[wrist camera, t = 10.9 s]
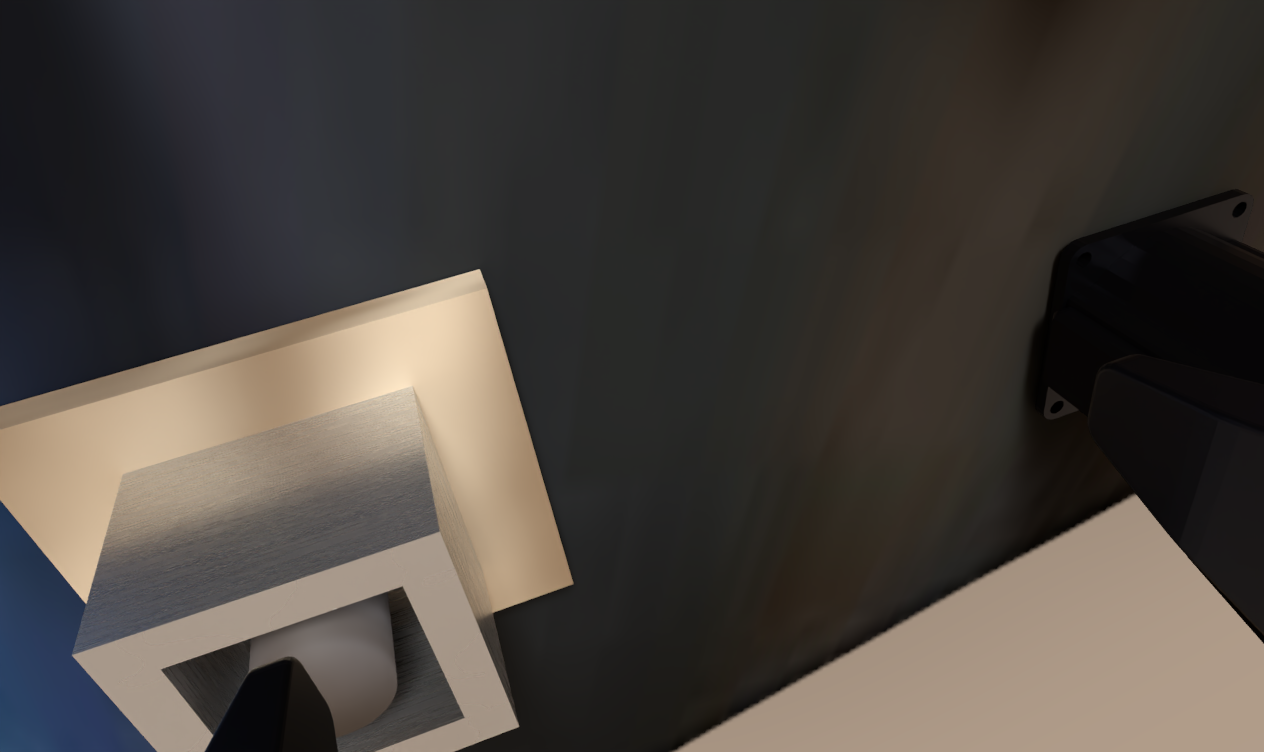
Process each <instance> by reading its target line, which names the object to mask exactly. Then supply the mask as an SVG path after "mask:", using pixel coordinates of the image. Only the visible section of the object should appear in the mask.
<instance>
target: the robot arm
mask: <svg viewBox="0 0 1264 752" xmlns="http://www.w3.org/2000/svg"><path fill="white" fill-rule="evenodd" d="M1253 202H1254V199H1253V196H1252V195H1250V194H1248V193H1245V192H1243V191H1240V190H1238V189H1235V190H1230V191H1227V192H1224V193H1221V194H1217V195H1214V196H1211V197H1208V198H1205V199H1202V200H1199V201H1196V202H1192V203H1189V204H1186V205H1183V206H1180V207H1177V208H1174V209H1170V210H1167V211H1164V212H1161V213H1158V214H1155V215H1152V216H1148V217H1145V218H1142V219H1139V220H1136V221H1133V222H1130V223H1127V224H1123V225H1120V226H1117V227H1114V228H1111V229H1108V230H1105V231H1101V232H1098V233H1095V234H1092V235H1089V236H1086V237H1083V238H1079V239H1076V240H1075V241H1073V242H1071V243H1070V244H1069V245H1067V246H1066V247H1065V249H1064V250H1063V252H1062V253H1061V256H1060V259H1059V265H1058V272H1057V278H1056V284H1055V290H1054V296H1053V302H1052V308H1051V314H1050V320H1049V326H1048V332H1047V338H1046V345H1045V351H1044V357H1043V363H1042V369H1041V375H1040V381H1039V387H1038V393H1037V399H1036V410H1037V411H1038V412H1039V413H1040V414H1041V415H1042V416H1044V417H1045V418H1046V419H1049V420H1051V419H1056V418H1059V417H1061V416H1064V415H1067V414H1070V413H1073V412H1075V411H1078V410H1080V411H1081V412H1082V413H1083V414H1085V415H1086V416H1087V417H1088V421H1087V422H1088V428H1089V432H1090V434H1091V436H1092V438H1093V440H1094V441H1095V443H1096V444H1097V446H1098V447H1099V448H1100V449H1101V451H1102V452H1103V453H1104V454H1105V456H1106V457H1107V458H1108V459H1109V461H1110V462H1111V463H1112V464H1113V466H1114V467H1115V468H1116V469H1117V471H1118V472H1119V473H1120V474H1121V476H1122V477H1123V478H1124V479H1125V481H1126V482H1127V483H1128V484H1129V486H1130V487H1131V488H1132V490H1133V491H1134V492H1135V493H1136V495H1137V496H1138V497H1139V498H1140V500H1141V501H1142V502H1143V503H1144V505H1145V506H1146V507H1147V508H1148V510H1149V511H1150V512H1151V513H1152V515H1153V516H1154V517H1155V518H1156V520H1157V521H1158V522H1159V523H1160V524H1161V526H1162V527H1163V528H1164V529H1165V531H1166V532H1167V533H1168V534H1169V535H1170V537H1171V538H1172V539H1173V540H1174V542H1175V543H1176V544H1177V545H1178V546H1179V547H1180V548H1181V550H1182V551H1183V552H1184V553H1185V554H1186V555H1187V556H1188V558H1189V559H1190V560H1191V561H1192V563H1193V564H1194V565H1195V566H1196V567H1197V568H1198V569H1199V571H1200V572H1201V573H1202V574H1203V575H1204V576H1205V577H1206V578H1207V580H1208V581H1209V582H1210V583H1211V584H1212V585H1213V586H1214V587H1215V589H1216V590H1217V591H1218V592H1219V593H1220V594H1221V595H1222V597H1223V598H1224V599H1225V600H1226V601H1227V602H1228V603H1229V604H1230V606H1231V607H1232V608H1233V609H1234V610H1235V611H1236V612H1237V614H1238V615H1239V616H1240V617H1241V618H1242V619H1243V620H1244V622H1245V623H1246V624H1247V625H1248V626H1249V627H1250V628H1251V629H1252V631H1253V632H1254V633H1255V634H1256V635H1257V636H1258V637H1259V638H1260V640H1261V641H1262V642H1263V643H1264V253H1263V252H1261V251H1259V250H1257V249H1255V248H1252V247H1250V246H1248V245H1246V244H1244V243H1242V240H1243V237H1244V234H1245V230H1246V227H1247V224H1248V220H1249V217H1250V214H1251V211H1252V207H1253ZM205 752H338V747H337V740H336V733H335V727H334V721H333V717H332V714H331V711H330V708H329V706H328V704H327V702H326V700H325V698H324V697H323V695H322V694H321V692H320V691H319V689H318V688H317V686H316V685H315V683H314V682H313V680H312V679H311V677H310V675H309V674H308V672H307V671H306V669H305V668H304V666H303V665H302V663H301V662H300V661H299V660H298V659H297V658H295V657H293V656H286V657H283V658H281V659H278V660H275V661H272V662H269V663H267V664H264V665H261V666H258V667H256V668H254V669H252V670H251V671H250V672H249V673H248V674H247V675H246V677H245V678H244V680H243V682H242V684H241V685H240V687H239V689H238V691H237V693H236V695H235V696H234V698H233V700H232V702H231V704H230V706H229V708H228V709H227V711H226V713H225V715H224V717H223V719H222V720H221V722H220V724H219V726H218V728H217V730H216V731H215V733H214V735H213V737H212V739H211V741H210V742H209V744H208V746H207V748H206V750H205Z"/></svg>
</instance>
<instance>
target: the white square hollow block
mask: <svg viewBox="0 0 1264 752" xmlns="http://www.w3.org/2000/svg"><path fill="white" fill-rule="evenodd" d="M387 591H388V597H389V607H390V616H391V626H392V635H393V645H394V654H395V664H396V673H397V690H396V694H395V696H394V698H393V700H392V702H391V704H390V705H389V706H388V708H387V709H386V710H385V711H384V712H383V713H382V714H381V715H380V716H379V717H378V718H376V719H375V720H374V721H372V722H371V723H369V724H368V725H366V726H364V727H362V728H360V729H358V730H356V731H354V732H352V733H349V734H346V735H343V736H340V737H336V740H337V747H338V752H454V751H457V750H459V749H462V748H465V747H467V746H470V745H473V744H475V743H478V742H480V741H483V740H486V739H488V738H491V737H494V736H496V735H499V734H501V733H504V732H507V731H509V730H512V729H515V728H517V727H519V723H518V719H517V715H516V710H515V706H514V702H513V698H512V693H511V689H510V685H509V681H508V676H507V672H506V668H505V663H504V659H503V655H502V651H501V646H500V642H499V638H498V634H497V629H496V625H495V621H494V617H493V612H492V608H491V604H490V600H489V595H488V591H487V587H486V583H485V578H484V574H483V570H482V568H481V565H480V562H479V560H478V557H477V554H476V552H475V549H474V547H473V544H472V541H471V539H470V536H469V533H468V531H467V528H466V525H465V523H464V520H463V518H462V515H461V512H460V510H459V507H458V504H457V502H456V499H455V497H454V494H453V491H452V489H451V486H450V483H449V481H448V478H447V475H446V473H445V470H444V468H443V465H442V462H441V460H440V457H439V454H438V452H437V449H436V447H435V444H434V441H433V439H432V436H431V433H430V431H429V428H428V425H427V423H426V420H425V418H424V415H423V412H422V410H421V407H420V404H419V402H418V399H417V397H416V394H415V391H414V389H413V386H411V387H407V388H404V389H401V390H398V391H394V392H391V393H388V394H384V395H381V396H378V397H375V398H371V399H368V400H365V401H361V402H358V403H355V404H352V405H348V406H345V407H342V408H338V409H335V410H332V411H329V412H325V413H322V414H319V415H315V416H312V417H309V418H306V419H302V420H299V421H296V422H293V423H289V424H286V425H283V426H279V427H276V428H273V429H270V430H266V431H263V432H260V433H256V434H253V435H250V436H247V437H243V438H240V439H237V440H233V441H230V442H227V443H224V444H220V445H217V446H214V447H210V448H207V449H204V450H201V451H197V452H194V453H191V454H187V455H184V456H181V457H178V458H174V459H171V460H168V461H164V462H161V463H158V464H155V465H151V466H148V467H145V468H141V469H138V470H135V471H132V472H128V473H125V474H123V475H122V478H121V482H120V486H119V489H118V493H117V496H116V500H115V503H114V507H113V511H112V514H111V518H110V521H109V525H108V528H107V532H106V536H105V539H104V543H103V546H102V550H101V553H100V557H99V561H98V564H97V568H96V571H95V575H94V578H93V582H92V586H91V589H90V593H89V596H88V600H87V603H86V607H85V611H84V614H83V618H82V621H81V625H80V628H79V632H78V635H77V639H76V643H75V646H74V650H73V653H72V656H73V657H74V658H75V659H76V660H77V661H78V663H79V664H80V665H81V666H82V667H83V668H84V669H85V671H86V672H87V673H88V674H89V675H90V676H91V677H92V678H93V680H94V681H95V682H96V683H97V684H98V685H99V686H100V687H101V689H102V690H103V691H104V692H105V693H106V694H107V695H108V697H109V698H110V699H111V700H112V701H113V702H114V703H115V704H116V706H117V707H118V708H119V709H120V710H121V711H122V712H123V713H124V715H125V716H126V717H127V718H128V719H129V720H130V721H131V723H132V724H133V725H134V726H135V727H136V728H137V729H138V730H139V732H140V733H141V734H142V735H143V736H144V737H145V738H146V739H147V741H148V742H149V743H150V744H151V745H152V746H153V747H154V749H155V750H156V751H157V752H205V750H206V748H207V746H208V744H209V742H210V741H211V739H212V737H213V735H214V733H215V731H216V730H217V728H218V726H219V724H220V722H221V720H222V719H223V717H224V715H225V713H226V711H227V709H228V708H229V706H230V704H231V702H232V700H233V698H234V696H235V695H236V693H237V691H238V689H239V687H240V685H241V684H242V682H243V680H244V678H245V677H246V675H247V674H248V673H249V661H250V646H251V638H253V637H256V636H259V635H262V634H265V633H268V632H271V631H274V630H277V629H279V628H282V627H285V626H288V625H291V624H294V623H297V622H300V621H303V620H306V619H309V618H311V617H314V616H317V615H320V614H323V613H326V612H329V611H332V610H335V609H338V608H341V607H343V606H346V605H349V604H352V603H355V602H358V601H361V600H364V599H367V598H370V597H373V596H375V595H378V594H381V593H384V592H387Z"/></svg>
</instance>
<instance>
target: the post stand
mask: <svg viewBox="0 0 1264 752" xmlns="http://www.w3.org/2000/svg"><path fill="white" fill-rule="evenodd" d="M411 386H413V389H414V391H415V394H416V397H417V399H418V402H419V404H420V407H421V410H422V412H423V415H424V418H425V420H426V423H427V425H428V428H429V431H430V433H431V436H432V439H433V441H434V444H435V447H436V449H437V452H438V454H439V457H440V460H441V462H442V465H443V468H444V470H445V473H446V475H447V478H448V481H449V483H450V486H451V489H452V491H453V494H454V497H455V499H456V502H457V504H458V507H459V510H460V512H461V515H462V518H463V520H464V523H465V525H466V528H467V531H468V533H469V536H470V539H471V541H472V544H473V547H474V549H475V552H476V554H477V557H478V560H479V562H480V565H481V568H482V570H483V574H484V578H485V583H486V587H487V591H488V595H489V600H490V604H491V608H492V612H496V611H499V610H502V609H505V608H508V607H510V606H513V605H516V604H519V603H522V602H524V601H527V600H530V599H533V598H536V597H538V596H541V595H544V594H547V593H550V592H552V591H555V590H558V589H561V588H564V587H566V586H569V585H572V584H573V581H572V577H571V574H570V570H569V567H568V564H567V560H566V557H565V553H564V550H563V546H562V543H561V540H560V536H559V533H558V529H557V526H556V523H555V519H554V516H553V512H552V509H551V505H550V502H549V499H548V495H547V492H546V488H545V485H544V481H543V478H542V475H541V471H540V468H539V464H538V461H537V458H536V454H535V451H534V447H533V444H532V440H531V437H530V434H529V430H528V427H527V423H526V420H525V416H524V413H523V410H522V406H521V403H520V399H519V396H518V393H517V389H516V386H515V382H514V379H513V375H512V372H511V369H510V365H509V362H508V358H507V355H506V351H505V348H504V345H503V341H502V338H501V334H500V331H499V328H498V324H497V321H496V317H495V314H494V310H493V307H492V304H491V300H490V297H489V293H488V290H487V287H486V284H485V282H484V279H483V277H482V274H481V271H480V269H478V270H475V271H471V272H468V273H464V274H461V275H457V276H454V277H450V278H447V279H443V280H440V281H436V282H433V283H429V284H426V285H422V286H419V287H415V288H412V289H408V290H405V291H401V292H398V293H394V294H391V295H387V296H384V297H380V298H377V299H373V300H370V301H366V302H363V303H359V304H356V305H352V306H349V307H345V308H342V309H339V310H335V311H332V312H328V313H325V314H321V315H318V316H314V317H311V318H307V319H304V320H300V321H297V322H293V323H290V324H286V325H283V326H279V327H276V328H272V329H269V330H265V331H262V332H258V333H255V334H251V335H248V336H244V337H241V338H237V339H234V340H230V341H227V342H223V343H220V344H216V345H213V346H209V347H206V348H202V349H199V350H195V351H192V352H188V353H185V354H181V355H178V356H174V357H171V358H167V359H164V360H160V361H157V362H153V363H150V364H147V365H143V366H140V367H136V368H133V369H129V370H126V371H122V372H119V373H115V374H112V375H108V376H105V377H101V378H98V379H94V380H91V381H87V382H84V383H80V384H77V385H73V386H70V387H66V388H63V389H59V390H56V391H52V392H49V393H45V394H42V395H38V396H35V397H31V398H28V399H24V400H21V401H17V402H14V403H10V404H7V405H3V406H0V500H1V501H2V503H3V504H4V505H5V506H6V507H7V509H8V510H9V511H10V512H11V514H12V515H13V516H14V517H15V518H16V520H17V521H18V522H19V523H20V524H21V526H22V527H23V528H24V529H25V531H26V532H27V533H28V534H29V535H30V537H31V538H32V539H33V540H34V541H35V543H36V544H37V545H38V546H39V548H40V549H41V550H42V551H43V552H44V554H45V555H46V556H47V557H48V558H49V560H50V561H51V562H52V563H53V564H54V566H55V567H56V568H57V569H58V571H59V572H60V573H61V574H62V575H63V577H64V578H65V579H66V580H67V581H68V583H69V584H70V585H71V586H72V588H73V589H74V590H75V591H76V592H77V594H78V595H79V596H80V597H81V598H82V600H83V601H84V602H85V603H87V600H88V596H89V593H90V589H91V586H92V582H93V578H94V575H95V571H96V568H97V564H98V561H99V557H100V553H101V550H102V546H103V543H104V539H105V536H106V532H107V528H108V525H109V521H110V518H111V514H112V511H113V507H114V503H115V500H116V496H117V493H118V489H119V486H120V482H121V478H122V475H123V474H125V473H128V472H132V471H135V470H138V469H141V468H145V467H148V466H151V465H155V464H158V463H161V462H164V461H168V460H171V459H174V458H178V457H181V456H184V455H187V454H191V453H194V452H197V451H201V450H204V449H207V448H210V447H214V446H217V445H220V444H224V443H227V442H230V441H233V440H237V439H240V438H243V437H247V436H250V435H253V434H256V433H260V432H263V431H266V430H270V429H273V428H276V427H279V426H283V425H286V424H289V423H293V422H296V421H299V420H302V419H306V418H309V417H312V416H315V415H319V414H322V413H325V412H329V411H332V410H335V409H338V408H342V407H345V406H348V405H352V404H355V403H358V402H361V401H365V400H368V399H371V398H375V397H378V396H381V395H384V394H388V393H391V392H394V391H398V390H401V389H404V388H407V387H411ZM286 656H293V657H295V658H297V659H298V660H299V661H300V662H301V663H302V665H303V666H304V668H305V669H306V671H307V672H308V674H309V675H310V677H311V679H312V680H313V682H314V683H315V685H316V686H317V688H318V689H319V691H320V692H321V694H322V695H323V697H324V698H325V700H326V702H327V704H328V706H329V708H330V711H331V714H332V717H333V721H334V727H335V733H336V737H340V736H343V735H346V734H349V733H352V732H354V731H356V730H358V729H360V728H362V727H364V726H366V725H368V724H369V723H371V722H372V721H374V720H375V719H376V718H378V717H379V716H380V715H381V714H382V713H383V712H384V711H385V710H386V709H387V708H388V706H389V705H390V704H391V702H392V700H393V698H394V696H395V694H396V690H397V673H396V664H395V654H394V645H393V635H392V626H391V616H390V607H389V597H388V591H387V592H384V593H381V594H378V595H375V596H373V597H370V598H367V599H364V600H361V601H358V602H355V603H352V604H349V605H346V606H343V607H341V608H338V609H335V610H332V611H329V612H326V613H323V614H320V615H317V616H314V617H311V618H309V619H306V620H303V621H300V622H297V623H294V624H291V625H288V626H285V627H282V628H279V629H277V630H274V631H271V632H268V633H265V634H262V635H259V636H256V637H253V638H251V646H250V661H249V672H250V671H251V670H252V669H254V668H256V667H258V666H261V665H264V664H267V663H269V662H272V661H275V660H278V659H281V658H283V657H286Z"/></svg>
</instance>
